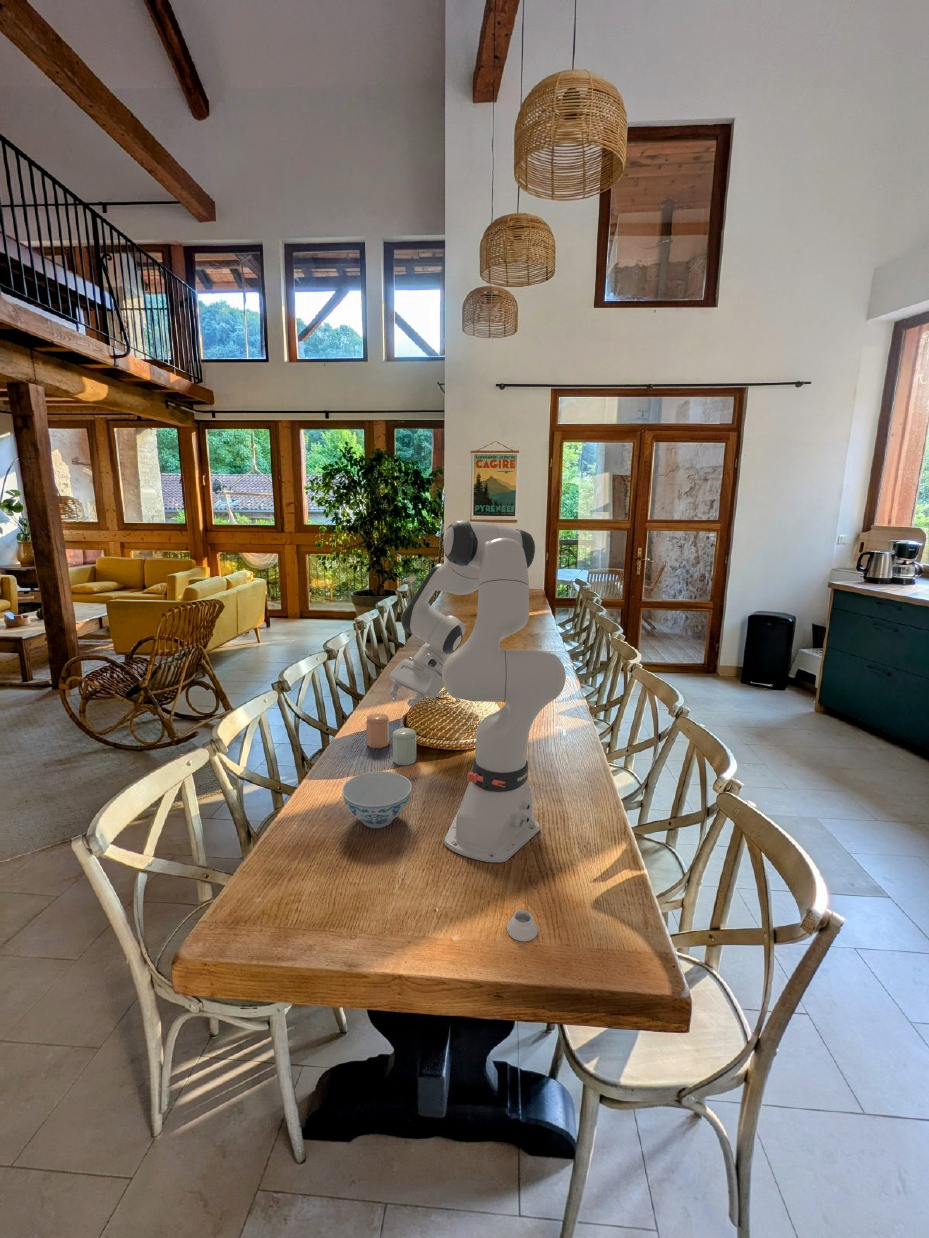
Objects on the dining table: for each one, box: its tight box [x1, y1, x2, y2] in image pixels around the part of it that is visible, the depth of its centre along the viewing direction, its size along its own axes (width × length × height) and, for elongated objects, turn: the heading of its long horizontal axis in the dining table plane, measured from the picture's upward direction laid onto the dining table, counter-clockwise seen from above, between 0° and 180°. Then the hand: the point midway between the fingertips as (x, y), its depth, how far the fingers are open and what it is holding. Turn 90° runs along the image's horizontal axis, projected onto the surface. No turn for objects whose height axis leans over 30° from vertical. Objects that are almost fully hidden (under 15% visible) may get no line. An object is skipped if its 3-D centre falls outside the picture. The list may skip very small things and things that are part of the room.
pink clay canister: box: [365, 713, 390, 749], centre depth 162 cm, size 6×6×8 cm
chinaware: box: [341, 770, 413, 829], centre depth 124 cm, size 15×15×8 cm
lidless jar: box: [506, 909, 539, 942], centre depth 93 cm, size 5×3×5 cm
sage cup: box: [392, 727, 417, 766], centre depth 152 cm, size 6×6×8 cm
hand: (400, 701), depth 166 cm, fingers open, 8 cm apart
